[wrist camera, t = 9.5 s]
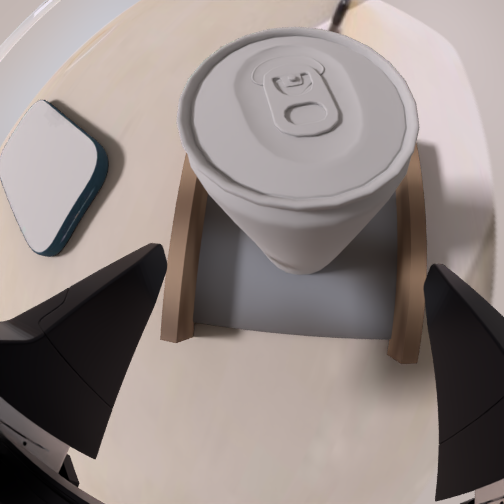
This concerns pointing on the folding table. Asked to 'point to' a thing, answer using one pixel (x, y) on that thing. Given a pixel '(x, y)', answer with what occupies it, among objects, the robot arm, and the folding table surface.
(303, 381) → the folding table surface
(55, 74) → the folding table surface
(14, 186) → the external hard drive
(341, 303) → the bay
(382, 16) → the folding table surface
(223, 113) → the beverage can
